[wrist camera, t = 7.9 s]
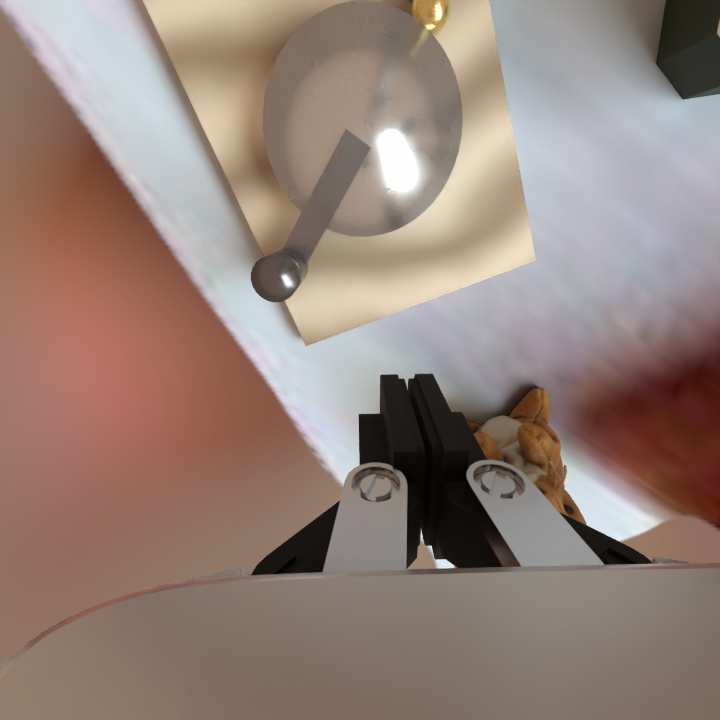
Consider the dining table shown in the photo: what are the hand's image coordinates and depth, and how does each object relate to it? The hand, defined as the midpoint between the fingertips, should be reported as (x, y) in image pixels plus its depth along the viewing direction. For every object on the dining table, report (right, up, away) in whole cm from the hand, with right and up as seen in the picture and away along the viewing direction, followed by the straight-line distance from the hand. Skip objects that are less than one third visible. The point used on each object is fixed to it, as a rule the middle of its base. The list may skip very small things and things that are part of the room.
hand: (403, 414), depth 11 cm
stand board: (-1, +17, +13) cm, 22 cm away
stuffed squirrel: (+12, -7, +24) cm, 28 cm away
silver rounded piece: (-2, +15, +12) cm, 19 cm away
